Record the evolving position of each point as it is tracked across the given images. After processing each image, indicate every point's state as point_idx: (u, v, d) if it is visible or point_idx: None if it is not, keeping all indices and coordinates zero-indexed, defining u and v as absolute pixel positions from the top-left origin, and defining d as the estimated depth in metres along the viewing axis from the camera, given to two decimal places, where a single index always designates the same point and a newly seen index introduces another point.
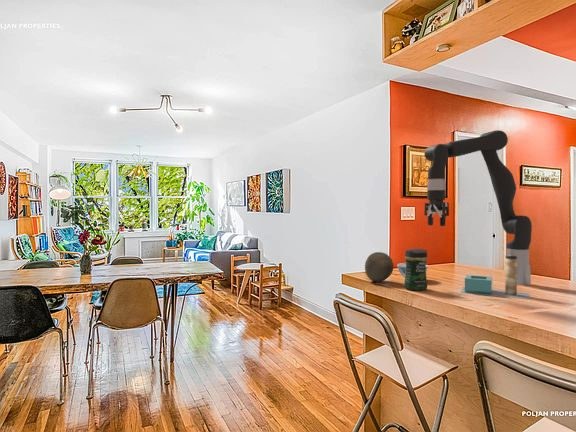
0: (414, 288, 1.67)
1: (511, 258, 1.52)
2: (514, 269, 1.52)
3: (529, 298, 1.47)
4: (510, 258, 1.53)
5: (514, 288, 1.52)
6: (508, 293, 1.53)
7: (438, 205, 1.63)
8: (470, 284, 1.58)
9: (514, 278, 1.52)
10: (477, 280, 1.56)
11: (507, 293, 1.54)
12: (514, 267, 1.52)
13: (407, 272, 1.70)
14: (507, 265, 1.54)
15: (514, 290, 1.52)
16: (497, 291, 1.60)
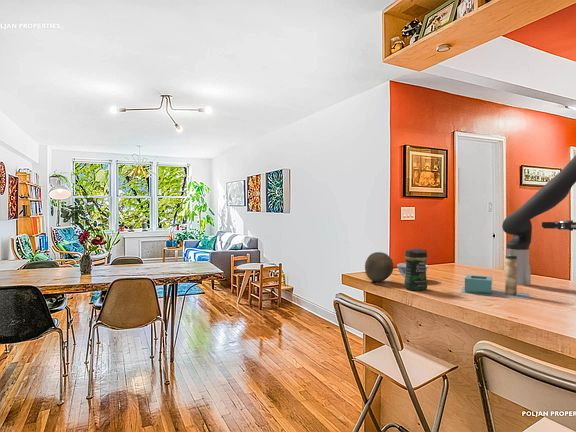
0: (414, 288, 1.67)
1: (511, 258, 1.52)
2: (514, 269, 1.52)
3: (529, 298, 1.47)
4: (510, 258, 1.53)
5: (514, 288, 1.52)
6: (508, 293, 1.53)
7: None
8: (470, 284, 1.58)
9: (514, 278, 1.52)
10: (477, 280, 1.56)
11: (507, 293, 1.54)
12: (514, 267, 1.52)
13: (407, 272, 1.70)
14: (507, 265, 1.54)
15: (514, 290, 1.52)
16: (497, 291, 1.60)
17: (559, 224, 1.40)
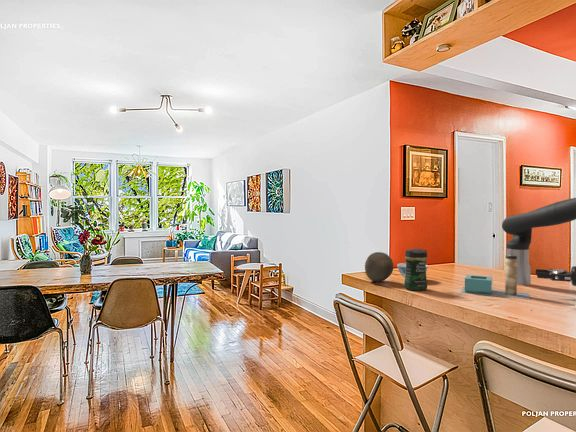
0: (414, 288, 1.67)
1: (511, 258, 1.52)
2: (514, 269, 1.52)
3: (529, 298, 1.47)
4: (510, 258, 1.53)
5: (514, 288, 1.52)
6: (508, 293, 1.53)
7: None
8: (470, 284, 1.58)
9: (514, 278, 1.52)
10: (477, 280, 1.56)
11: (507, 293, 1.54)
12: (514, 267, 1.52)
13: (407, 272, 1.70)
14: (507, 265, 1.54)
15: (514, 290, 1.52)
16: (497, 291, 1.60)
17: (553, 275, 1.41)
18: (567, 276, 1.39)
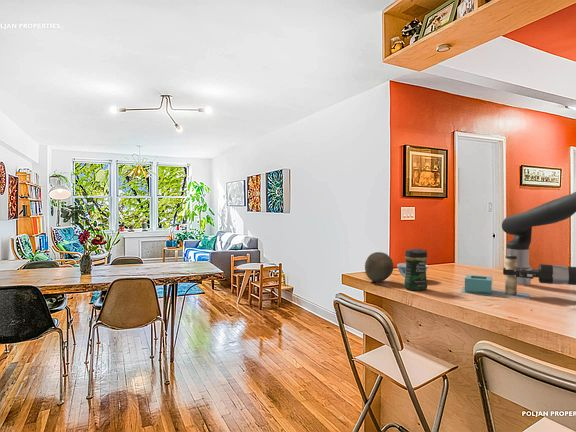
0: (414, 288, 1.67)
1: (511, 258, 1.52)
2: (514, 269, 1.52)
3: (529, 298, 1.47)
4: (510, 258, 1.53)
5: (514, 288, 1.52)
6: (508, 293, 1.53)
7: None
8: (470, 284, 1.58)
9: (514, 278, 1.52)
10: (477, 280, 1.56)
11: (507, 293, 1.54)
12: (514, 267, 1.52)
13: (407, 272, 1.70)
14: (507, 265, 1.54)
15: (514, 290, 1.52)
16: (497, 291, 1.60)
17: (516, 272, 1.49)
18: (529, 273, 1.46)
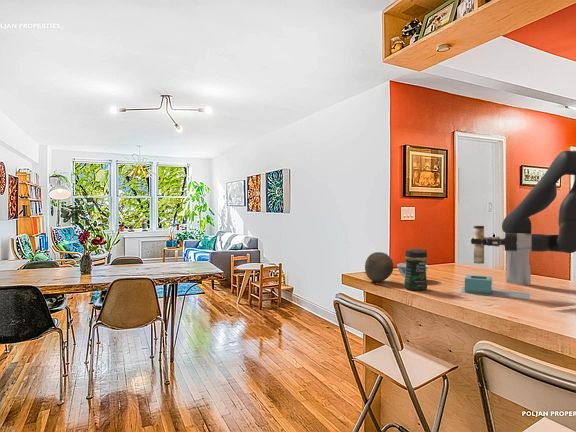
0: (414, 288, 1.67)
1: (478, 227, 1.58)
2: (481, 238, 1.58)
3: (529, 298, 1.47)
4: (477, 228, 1.58)
5: (482, 257, 1.58)
6: (476, 261, 1.59)
7: None
8: (470, 284, 1.58)
9: (481, 247, 1.58)
10: (477, 280, 1.56)
11: (475, 262, 1.60)
12: (481, 236, 1.58)
13: (407, 272, 1.70)
14: (475, 234, 1.59)
15: (481, 258, 1.58)
16: (497, 291, 1.60)
17: (483, 240, 1.55)
18: (494, 241, 1.52)
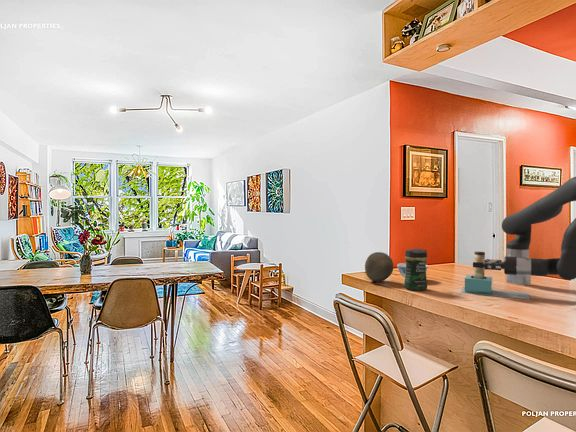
0: (414, 288, 1.67)
1: (479, 254, 1.58)
2: None
3: (529, 298, 1.47)
4: (478, 254, 1.58)
5: None
6: None
7: None
8: (470, 284, 1.58)
9: (482, 273, 1.58)
10: (477, 280, 1.56)
11: None
12: None
13: (407, 272, 1.70)
14: (475, 261, 1.59)
15: None
16: (497, 291, 1.60)
17: (485, 265, 1.53)
18: (497, 265, 1.51)
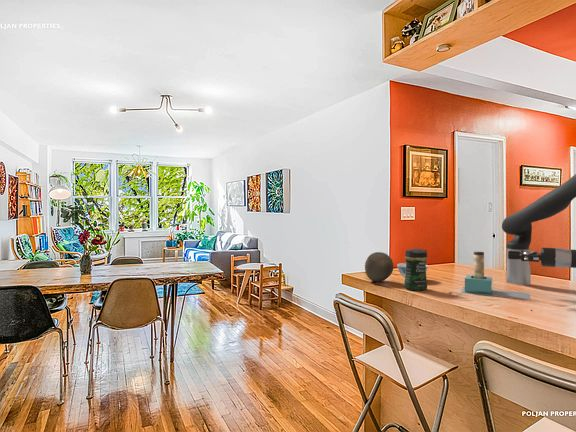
0: (414, 288, 1.67)
1: (478, 254, 1.59)
2: (481, 265, 1.58)
3: (529, 298, 1.47)
4: (477, 254, 1.59)
5: None
6: None
7: None
8: (470, 284, 1.58)
9: (481, 273, 1.59)
10: (477, 280, 1.56)
11: None
12: (481, 263, 1.58)
13: (407, 272, 1.70)
14: (475, 261, 1.60)
15: None
16: (497, 291, 1.60)
17: (522, 256, 1.46)
18: (536, 256, 1.44)
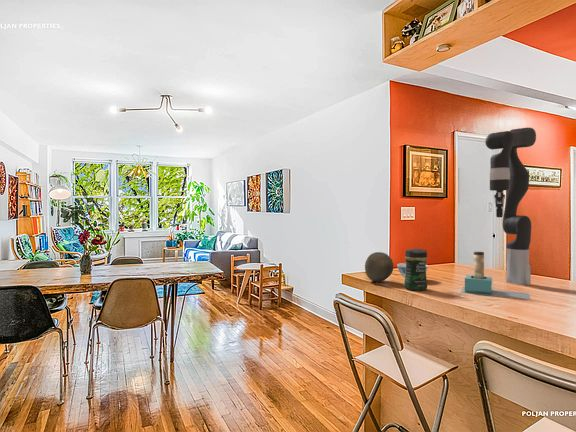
0: (414, 288, 1.67)
1: (478, 254, 1.59)
2: (481, 265, 1.58)
3: (529, 298, 1.47)
4: (477, 254, 1.59)
5: None
6: None
7: None
8: (470, 284, 1.58)
9: (481, 273, 1.59)
10: (477, 280, 1.56)
11: None
12: (481, 263, 1.58)
13: (407, 272, 1.70)
14: (475, 261, 1.60)
15: None
16: (497, 291, 1.60)
17: None
18: None
